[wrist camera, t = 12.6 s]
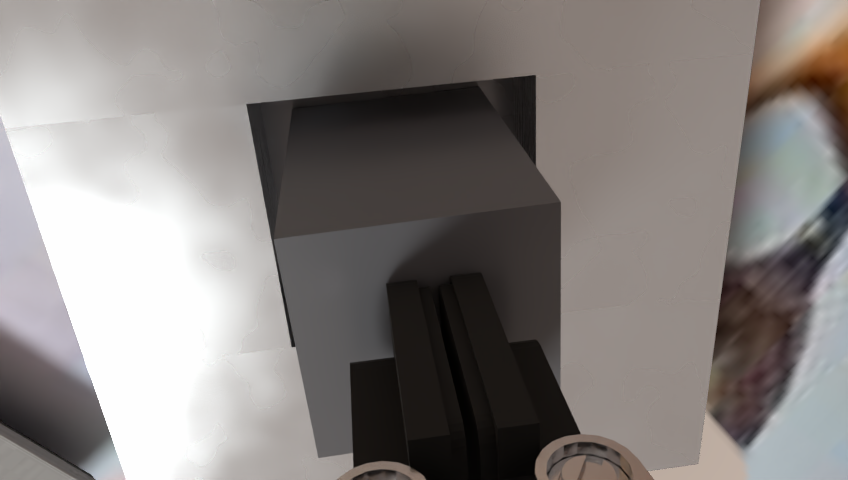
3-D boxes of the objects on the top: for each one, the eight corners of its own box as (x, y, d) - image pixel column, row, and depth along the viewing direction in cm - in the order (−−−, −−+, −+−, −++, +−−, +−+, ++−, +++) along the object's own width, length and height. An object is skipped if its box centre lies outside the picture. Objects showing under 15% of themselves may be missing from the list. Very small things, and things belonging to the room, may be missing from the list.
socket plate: (-33, -193, 15) (-133, -213, 12) (718, -245, 16) (816, -277, 13) (169, 465, 23) (143, 560, 20) (657, 399, 24) (707, 478, 21)
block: (292, 108, 17) (273, 239, 11) (479, 86, 18) (561, 202, 12) (321, 273, 20) (318, 458, 13) (487, 250, 20) (560, 421, 14)
